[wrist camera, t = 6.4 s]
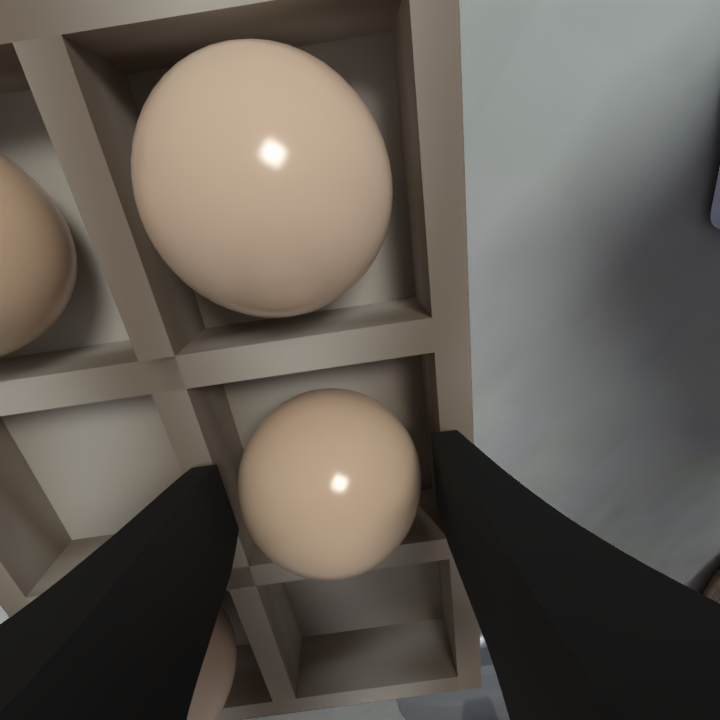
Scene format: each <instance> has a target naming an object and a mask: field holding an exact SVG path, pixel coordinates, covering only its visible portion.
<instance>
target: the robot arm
mask: <svg viewBox="0 0 720 720" xmlns="http://www.w3.org/2000/svg"><path fill="white" fill-rule="evenodd" d="M711 222H712V224H713V226H715V227H716V228H718V229H720V167H719V172H718V177H717V183H716V188H715V193H714V198H713V203H712V208H711ZM431 442H432V454H433V466H434V478H435V490H436V501H437V505H438V509H439V513H440V517H441V521H442V525H443V528H444V532H445V536H446V539H447V543H448V545H449V548H450V551H451V553H452V556H453V559H454V561H455V564H456V567H457V569H458V572H459V575H460V577H461V580H462V582H463V585H464V588H465V590H466V593H467V595H468V598H469V601H470V603H471V606H472V608H473V611H474V614H475V616H476V619H477V621H478V624H479V627H480V629H481V632H482V635H483V637H484V640H485V642H486V645H487V648H488V651H489V654H490V657H491V660H492V662H493V665H494V668H495V671H496V675H497V678H498V681H499V685H500V688H501V691H502V695H503V698H504V702H505V705H506V708H507V712H508V715H509V719H510V720H720V603H718V602H716V601H714V600H712V599H710V598H708V597H706V596H704V595H702V594H700V593H698V592H696V591H694V590H692V589H690V588H688V587H686V586H685V585H683V584H681V583H679V582H677V581H675V580H673V579H671V578H670V577H668V576H666V575H664V574H662V573H660V572H658V571H656V570H655V569H653V568H651V567H649V566H647V565H645V564H644V563H642V562H640V561H638V560H636V559H635V558H633V557H631V556H629V555H628V554H626V553H624V552H622V551H621V550H619V549H617V548H616V547H614V546H612V545H611V544H609V543H608V542H606V541H604V540H603V539H601V538H599V537H598V536H596V535H594V534H593V533H591V532H590V531H588V530H586V529H585V528H583V527H581V526H580V525H578V524H577V523H575V522H574V521H572V520H571V519H569V518H568V517H566V516H565V515H563V514H562V513H560V512H559V511H557V510H556V509H555V508H553V507H552V506H550V505H549V504H548V503H546V502H545V501H543V500H542V499H541V498H539V497H538V496H537V495H535V494H534V493H533V492H531V491H530V490H529V489H527V488H526V487H525V486H523V485H522V484H521V483H520V482H518V481H517V480H516V479H514V478H513V477H512V476H511V475H509V474H508V473H507V472H506V471H504V470H503V469H502V468H501V467H499V466H498V465H497V464H496V463H495V462H493V461H492V460H491V459H490V458H489V457H488V456H486V455H485V454H484V453H483V452H482V451H481V450H480V449H478V448H477V447H476V446H475V445H474V444H473V443H472V442H470V441H469V440H468V439H467V438H466V437H465V436H464V435H463V434H461V433H460V432H459V431H458V430H451V431H444V432H437V433H431ZM238 533H239V527H238V524H237V521H236V518H235V515H234V512H233V510H232V507H231V504H230V501H229V498H228V495H227V492H226V490H225V487H224V484H223V481H222V478H221V475H220V472H219V469H218V467H217V464H215V465H208V466H201V467H194V468H191V469H189V470H188V471H187V472H186V473H184V474H183V475H182V476H181V477H179V478H178V479H177V480H176V481H175V482H173V483H172V484H171V485H170V486H169V487H168V488H166V489H165V490H164V491H163V492H162V493H161V494H160V495H159V496H157V497H156V498H155V499H154V500H153V501H152V502H151V503H150V504H148V505H147V506H146V507H145V508H144V509H143V510H142V511H140V512H139V513H138V514H137V515H136V516H135V517H134V518H133V519H131V520H130V521H129V522H128V523H127V524H126V525H125V526H123V527H122V528H121V529H120V530H119V531H118V532H117V533H115V534H114V535H113V536H112V537H111V538H110V539H108V540H107V541H106V542H105V543H104V544H102V545H101V546H100V547H99V548H98V549H96V550H95V551H94V552H93V553H91V554H90V555H89V556H88V557H87V558H85V559H84V560H83V561H82V562H81V563H79V564H78V565H77V566H76V567H75V568H73V569H72V570H71V571H70V572H69V573H67V574H66V575H65V576H64V577H62V578H61V579H60V580H59V581H57V582H56V583H55V584H54V585H52V586H51V587H50V588H49V589H47V590H46V591H45V592H43V593H42V594H41V595H39V596H38V597H37V598H35V599H34V600H33V601H32V602H30V603H29V604H28V605H26V606H25V607H24V608H22V609H21V610H19V611H18V612H17V613H15V614H14V615H13V616H11V617H10V618H9V619H7V620H6V621H4V622H3V623H2V624H0V720H187V716H188V712H189V708H190V705H191V701H192V697H193V694H194V690H195V687H196V683H197V680H198V677H199V674H200V671H201V668H202V664H203V661H204V658H205V655H206V652H207V649H208V645H209V642H210V639H211V636H212V633H213V630H214V627H215V623H216V620H217V617H218V614H219V611H220V608H221V604H222V601H223V598H224V595H225V591H226V588H227V585H228V582H229V578H230V575H231V571H232V566H233V561H234V556H235V551H236V545H237V539H238Z"/></svg>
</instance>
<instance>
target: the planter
mask: <svg viewBox="0 0 720 720" xmlns="http://www.w3.org/2000/svg"><path fill="white" fill-rule="evenodd" d="M702 595H704V596H706V597H708V598H710V599H712V600H714V601H716V602H718V603H720V568H719V569H718V570H717V571H716V572H715V573H714V575H713V576H712V578H711V579H710V581H709V583H708V585H707V587H706V588H705V590H704V592H703V594H702Z"/></svg>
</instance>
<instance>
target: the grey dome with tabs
mask: <svg viewBox="0 0 720 720" xmlns="http://www.w3.org/2000/svg"><path fill="white" fill-rule="evenodd" d="M480 654H481V685H482V687H481V688H474V689H466V690H459V691H451V692H444V693H436V694H429V695H421V696H414V697H407V698H399V699H397V700H398V706H399V709H400V712H401V713H402V715H403V717H404V718H405V719H406V720H510V719H509V715H508V712H507V708H506V705H505V702H504V698H503V695H502V691H501V688H500V685H499V681H498V678H497V675H496V671H495V668H494V665H493V662H492V660H491V657H490V654H489V651H488V648H487V645H486V642H485V640H484V637H483V635H482V632H481V629H480Z"/></svg>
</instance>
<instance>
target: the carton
mask: <svg viewBox="0 0 720 720" xmlns="http://www.w3.org/2000/svg"><path fill="white" fill-rule="evenodd" d="M250 38H251V39H263V40H271V41H276V42H280V43H284V44H288V45H291V46H293V47H295V48H298V49H300V50H303V51H305V52H307V53H309V54H311V55H312V56H314V57H316V58H318V59H319V60H321V61H323V62H324V63H325V64H327V65H328V66H329V67H331V68H332V69H333V70H334V71H336V72H337V73H338V74H339V75H340V76H341V77H342V78H343V79H344V80H345V81H346V82H347V83H348V84H349V85H350V86H351V87H352V88H353V89H354V90H355V91H356V92H357V94H358V95H359V96H360V98H361V99H362V101H363V102H364V103H365V105H366V106H367V107H368V109H369V111H370V113H371V114H372V116H373V118H374V120H375V121H376V123H377V125H378V128H379V130H380V133H381V135H382V137H383V140H384V143H385V146H386V150H387V153H388V157H389V161H390V168H391V174H392V190H393V197H392V210H391V216H390V221H389V226H388V230H387V233H386V236H385V239H384V242H383V245H382V247H381V249H380V251H379V253H378V255H377V257H376V259H375V260H374V262H373V264H372V265H371V267H370V268H369V270H368V271H367V272H366V274H365V275H364V276H363V277H362V278H361V279H360V281H359V282H358V283H357V284H356V285H355V286H354V287H353V288H351V289H350V290H349V291H348V292H347V293H346V294H344V295H343V296H341V297H340V298H338V299H337V300H336V301H334V302H332V303H330V304H328V305H326V306H324V307H322V308H320V309H318V310H315V311H312V312H309V313H306V314H302V315H297V316H293V317H282V318H267V317H257V316H251V315H246V314H243V313H239V312H236V311H233V310H229V309H227V308H225V307H222V306H220V305H218V304H215V303H214V302H212V301H210V300H208V299H207V298H205V297H203V296H201V295H200V294H199V293H197V292H196V291H195V290H193V289H192V288H190V287H189V286H188V285H187V284H186V283H185V282H183V281H182V280H181V279H180V278H179V277H178V276H177V275H176V274H175V273H174V272H173V271H172V270H171V268H170V267H169V266H168V265H167V264H166V263H165V262H164V260H163V259H162V257H161V256H160V254H159V253H158V251H157V250H156V249H155V247H154V245H153V243H152V242H151V240H150V238H149V236H148V234H147V232H146V230H145V228H144V225H143V223H142V220H141V218H140V216H139V212H138V209H137V205H136V202H135V198H134V193H133V186H132V180H131V152H132V141H133V137H134V132H135V128H136V124H137V121H138V118H139V116H140V113H141V110H142V108H143V105H144V104H145V102H146V100H147V98H148V96H149V95H150V93H151V91H152V89H153V88H154V87H155V86H156V84H157V83H158V82H159V80H160V79H161V78H162V77H163V75H164V74H165V73H166V72H168V71H169V70H170V69H171V68H172V67H173V66H174V65H175V64H176V63H177V62H179V61H180V60H182V59H183V58H185V57H186V56H188V55H189V54H191V53H193V52H195V51H197V50H199V49H201V48H204V47H206V46H208V45H211V44H215V43H219V42H223V41H227V40H237V39H250ZM0 153H1V154H3V155H4V156H6V157H7V158H9V159H10V160H11V161H13V162H14V163H15V164H17V165H18V166H19V167H20V168H22V169H23V170H24V171H25V172H26V173H27V174H28V175H29V176H31V177H32V178H33V179H34V180H35V181H36V182H37V183H38V184H39V185H40V186H41V187H42V188H43V189H44V190H45V191H46V192H47V193H48V195H49V196H50V197H51V199H52V200H53V201H54V203H55V204H56V205H57V207H58V209H59V210H60V212H61V213H62V215H63V217H64V219H65V221H66V223H67V225H68V227H69V229H70V232H71V235H72V237H73V240H74V244H75V248H76V253H77V263H78V270H77V280H76V285H75V289H74V292H73V294H72V297H71V299H70V302H69V304H68V306H67V307H66V309H65V311H64V312H63V313H62V315H61V316H60V318H59V319H58V320H57V321H56V322H55V323H54V324H53V326H52V327H50V328H49V329H48V330H47V331H46V332H44V333H43V334H42V335H41V336H39V337H38V338H37V339H36V340H34V341H32V342H30V343H29V344H27V345H25V346H23V347H22V348H20V349H18V350H16V351H14V352H11V353H9V354H6V355H3V356H0V605H1V607H2V608H3V609H4V611H5V612H6V613H7V615H8V616H9V617H11V616H13V615H14V614H15V613H17V612H18V611H19V610H21V609H22V608H24V607H25V606H26V605H28V604H29V603H30V602H32V601H33V600H34V599H35V598H37V597H38V596H39V595H41V594H42V593H43V592H45V591H46V590H47V589H49V588H50V587H51V586H52V585H54V584H55V583H56V582H57V581H59V580H60V579H61V578H62V577H64V576H65V575H66V574H67V573H69V572H70V571H71V570H72V569H73V568H75V567H76V566H77V565H78V564H79V563H81V562H82V561H83V560H84V559H85V558H87V557H88V556H89V555H90V554H91V553H93V552H94V551H95V550H96V549H98V548H99V547H100V546H101V545H102V544H104V543H105V542H106V541H107V540H108V539H110V538H111V537H112V536H113V535H114V534H115V533H117V532H118V531H119V530H120V529H121V528H122V527H123V526H125V525H126V524H127V523H128V522H129V521H130V520H131V519H133V518H134V517H135V516H136V515H137V514H138V513H139V512H140V511H142V510H143V509H144V508H145V507H146V506H147V505H148V504H150V503H151V502H152V501H153V500H154V499H155V498H156V497H157V496H159V495H160V494H161V493H162V492H163V491H164V490H165V489H166V488H168V487H169V486H170V485H171V484H172V483H173V482H175V481H176V480H177V479H178V478H179V477H181V476H182V475H183V474H184V473H186V472H187V471H188V470H189V469H191V468H194V467H201V466H208V465H215V464H217V467H218V469H219V472H220V475H221V478H222V481H223V484H224V487H225V490H226V492H227V495H228V498H229V501H230V504H231V507H232V510H233V512H234V515H235V518H236V521H237V524H238V527H239V533H238V539H237V545H236V551H235V556H234V561H233V566H232V571H231V575H230V578H229V582H228V585H227V588H226V591H225V595H224V598H223V601H222V604H221V606H222V607H223V609H224V610H225V612H226V613H227V615H228V617H229V618H230V621H231V623H232V626H233V629H234V633H235V637H236V646H237V662H236V670H235V675H234V680H233V683H232V687H231V690H230V693H229V695H228V698H227V700H226V703H225V705H224V707H223V708H222V710H221V712H220V714H219V716H218V717H217V719H216V720H243V719H250V718H258V717H265V716H273V715H280V714H287V713H295V712H302V711H310V710H317V709H325V708H332V707H340V706H347V705H354V704H362V703H369V702H377V701H384V700H392V699H399V698H407V697H414V696H421V695H429V694H436V693H444V692H451V691H459V690H466V689H474V688H481V687H482V685H481V654H480V627H479V624H478V621H477V619H476V616H475V614H474V611H473V608H472V606H471V603H470V601H469V598H468V595H467V593H466V590H465V588H464V585H463V582H462V580H461V577H460V575H459V572H458V569H457V567H456V564H455V561H454V559H453V556H452V553H451V551H450V548H449V545H448V543H447V539H446V536H445V532H444V528H443V525H442V521H441V517H440V513H439V509H438V505H437V501H436V490H435V478H434V466H433V454H432V442H431V433H437V432H444V431H451V430H458V431H459V432H460V433H461V434H463V435H464V436H465V437H466V438H467V439H468V440H469V441H470V442H472V443H473V444H474V440H473V409H472V379H471V348H470V317H469V287H468V256H467V226H466V195H465V164H464V134H463V103H462V72H461V42H460V11H459V0H0ZM325 388H339V389H347V390H352V391H356V392H359V393H362V394H365V395H367V396H369V397H371V398H373V399H375V400H377V401H378V402H380V403H381V404H383V405H384V406H385V407H386V408H388V409H389V410H390V411H391V412H393V413H394V415H395V416H396V417H397V418H398V419H399V420H400V421H401V423H402V424H403V425H404V427H405V428H406V430H407V431H408V433H409V435H410V437H411V439H412V441H413V443H414V445H415V448H416V451H417V454H418V457H419V462H420V468H421V475H422V478H421V497H420V502H419V507H418V511H417V514H416V517H415V519H414V522H413V524H412V526H411V528H410V530H409V532H408V534H407V535H406V537H405V538H404V540H403V541H402V542H401V544H400V545H399V547H398V548H397V549H396V550H395V551H394V552H393V553H392V554H391V555H390V556H389V557H388V558H387V559H385V560H384V561H383V562H382V563H380V564H379V565H378V566H376V567H374V568H373V569H371V570H369V571H367V572H365V573H362V574H360V575H357V576H354V577H351V578H347V579H342V580H335V581H320V580H312V579H308V578H304V577H301V576H298V575H295V574H293V573H291V572H288V571H286V570H284V569H283V568H281V567H279V566H278V565H277V564H275V563H274V562H273V561H271V560H270V559H269V558H268V557H267V556H266V555H265V554H264V553H263V552H262V551H261V550H260V549H259V547H258V546H257V545H256V544H255V542H254V540H253V539H252V537H251V536H250V534H249V532H248V530H247V528H246V526H245V523H244V521H243V518H242V515H241V511H240V507H239V501H238V489H237V483H238V473H239V466H240V462H241V459H242V456H243V452H244V449H245V447H246V445H247V443H248V441H249V439H250V437H251V435H252V433H253V432H254V430H255V429H256V428H257V426H258V425H259V424H260V422H261V421H262V420H263V419H264V418H265V417H266V416H267V415H268V414H269V413H270V412H271V411H272V410H273V409H275V408H276V407H277V406H278V405H280V404H281V403H283V402H285V401H286V400H288V399H290V398H292V397H294V396H296V395H298V394H301V393H304V392H307V391H311V390H317V389H325Z"/></svg>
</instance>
